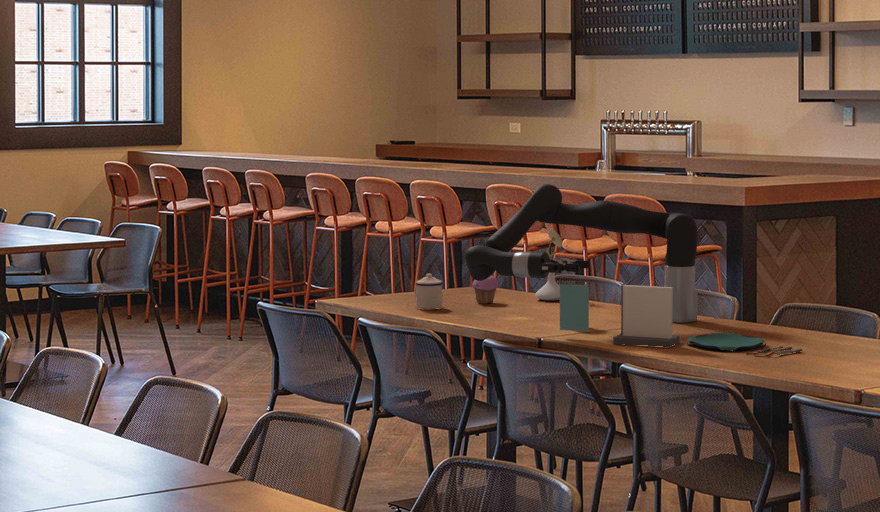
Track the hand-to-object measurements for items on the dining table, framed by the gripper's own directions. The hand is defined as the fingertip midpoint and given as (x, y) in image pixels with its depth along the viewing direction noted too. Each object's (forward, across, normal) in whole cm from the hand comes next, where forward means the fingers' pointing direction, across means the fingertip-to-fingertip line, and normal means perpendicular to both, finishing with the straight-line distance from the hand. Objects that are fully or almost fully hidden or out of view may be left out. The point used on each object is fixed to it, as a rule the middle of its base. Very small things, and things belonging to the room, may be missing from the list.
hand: (584, 266), depth 351 cm
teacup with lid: (-69, +38, +21) cm, 82 cm away
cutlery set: (+43, +3, +22) cm, 49 cm away
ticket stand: (+18, 0, +21) cm, 28 cm away
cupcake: (-55, +56, +21) cm, 81 cm away
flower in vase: (-37, +72, +21) cm, 83 cm away
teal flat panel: (-3, 0, +18) cm, 19 cm away
